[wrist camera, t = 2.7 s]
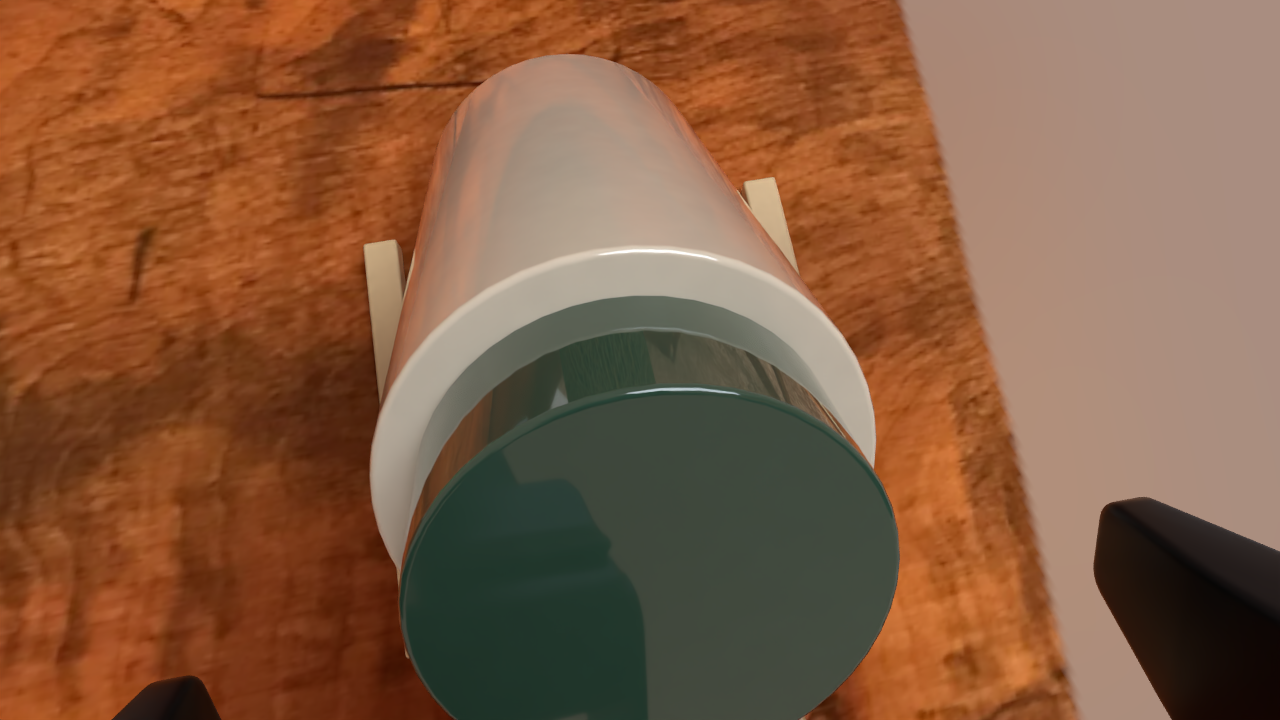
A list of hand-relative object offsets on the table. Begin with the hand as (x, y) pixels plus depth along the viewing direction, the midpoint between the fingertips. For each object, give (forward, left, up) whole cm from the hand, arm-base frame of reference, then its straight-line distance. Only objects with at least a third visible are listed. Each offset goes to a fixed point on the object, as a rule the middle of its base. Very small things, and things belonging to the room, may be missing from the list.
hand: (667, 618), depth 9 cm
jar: (+5, -1, -11) cm, 12 cm away
